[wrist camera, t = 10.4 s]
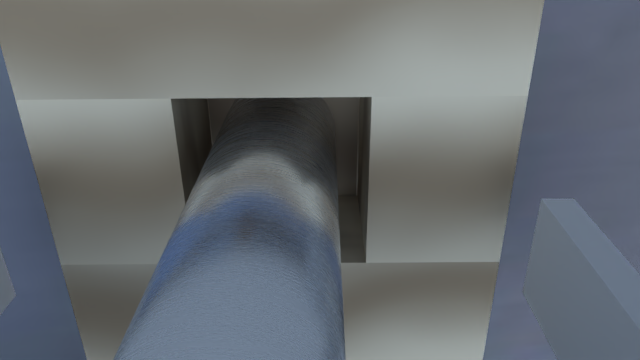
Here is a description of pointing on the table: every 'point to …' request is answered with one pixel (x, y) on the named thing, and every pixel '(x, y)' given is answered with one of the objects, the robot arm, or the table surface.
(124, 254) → the bore block
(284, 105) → the peg
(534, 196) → the table surface
